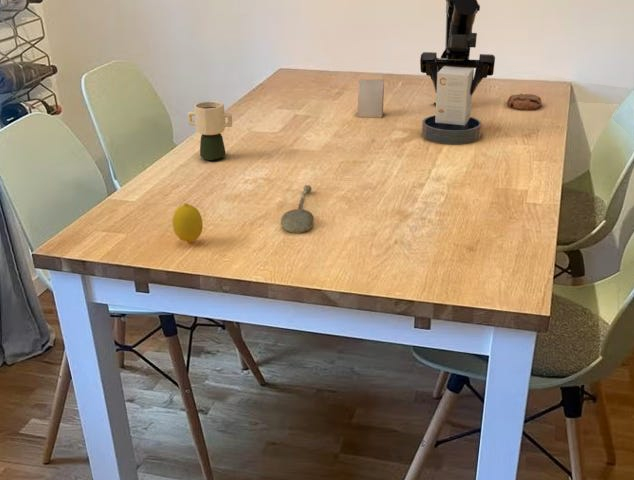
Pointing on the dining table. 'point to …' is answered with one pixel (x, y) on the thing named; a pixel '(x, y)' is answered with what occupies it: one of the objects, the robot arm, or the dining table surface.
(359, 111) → the grey rectangular block
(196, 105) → the character mug
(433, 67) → the robot arm
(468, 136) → the dish
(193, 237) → the lemon
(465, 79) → the small box
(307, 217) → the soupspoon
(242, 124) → the dining table surface
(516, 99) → the cookie
